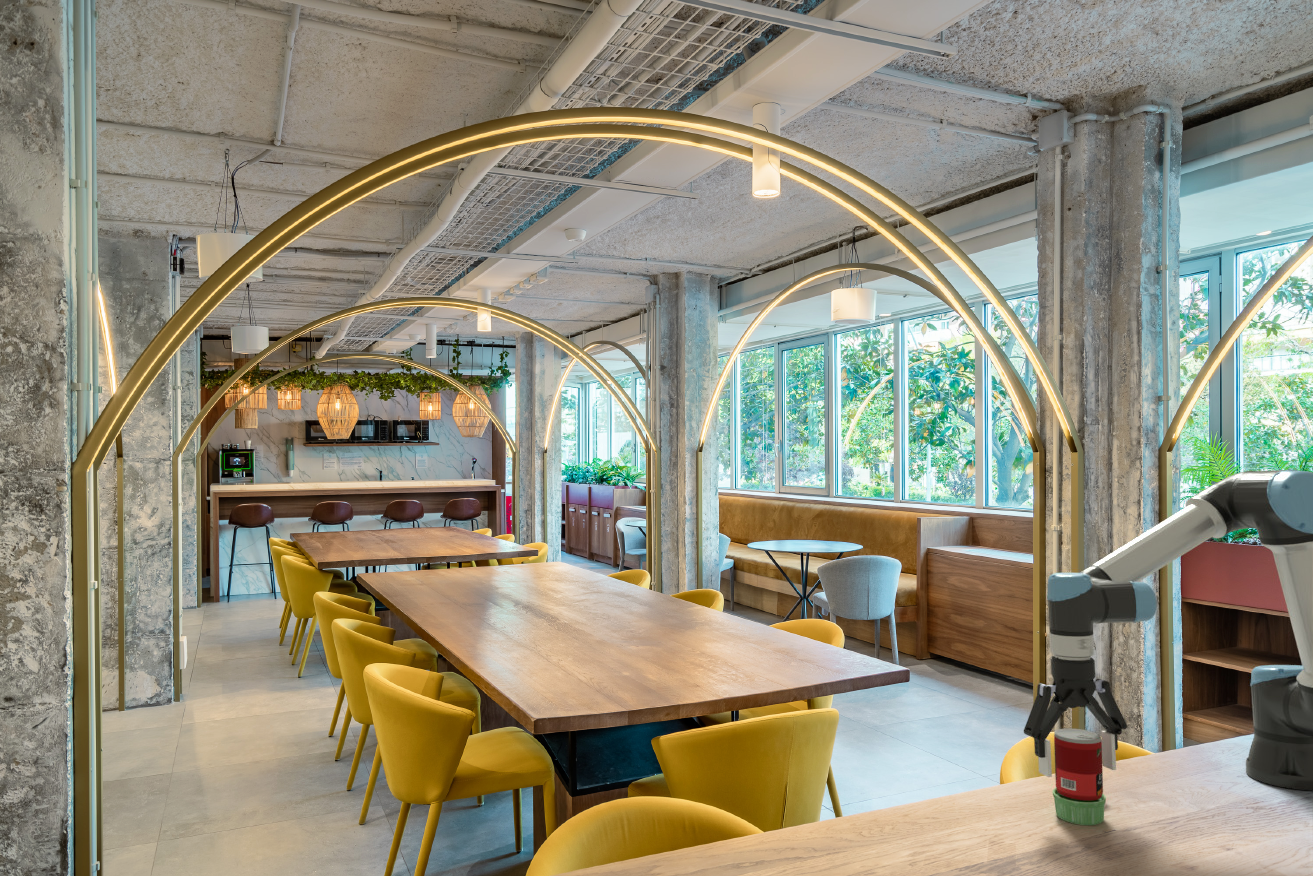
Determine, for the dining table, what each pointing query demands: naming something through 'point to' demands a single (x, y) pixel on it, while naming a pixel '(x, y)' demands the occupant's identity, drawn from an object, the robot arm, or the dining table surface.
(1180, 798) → the dining table surface
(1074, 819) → the ramekin
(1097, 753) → the canned food
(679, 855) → the dining table surface
